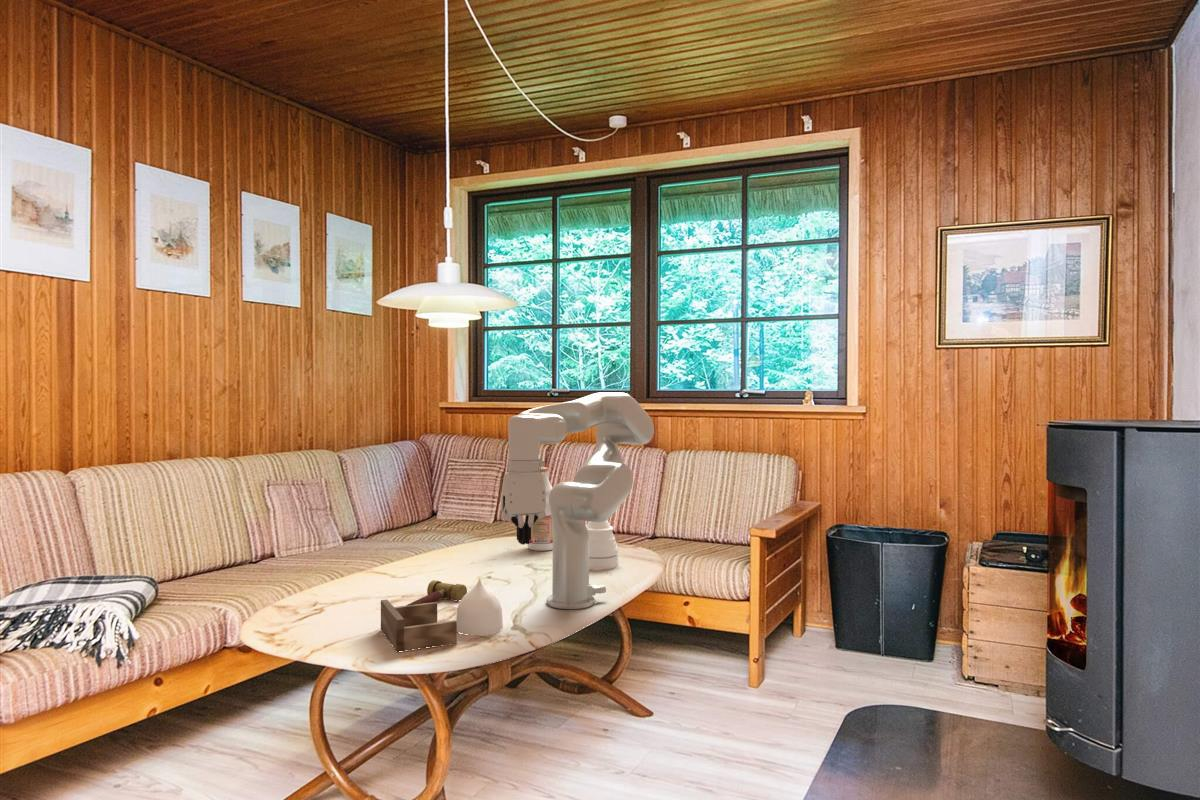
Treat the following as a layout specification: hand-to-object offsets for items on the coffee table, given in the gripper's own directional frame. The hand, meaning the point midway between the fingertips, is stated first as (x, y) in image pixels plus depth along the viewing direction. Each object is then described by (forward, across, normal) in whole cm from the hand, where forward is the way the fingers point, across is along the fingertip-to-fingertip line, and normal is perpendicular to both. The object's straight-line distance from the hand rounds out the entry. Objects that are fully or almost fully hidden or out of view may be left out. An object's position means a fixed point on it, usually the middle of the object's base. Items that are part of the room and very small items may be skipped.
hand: (523, 543), depth 190 cm
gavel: (+20, +17, -24) cm, 35 cm away
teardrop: (+19, +11, 0) cm, 22 cm away
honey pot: (+19, -43, -46) cm, 66 cm away
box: (+19, +26, 0) cm, 32 cm away
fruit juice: (+19, -36, -76) cm, 86 cm away
